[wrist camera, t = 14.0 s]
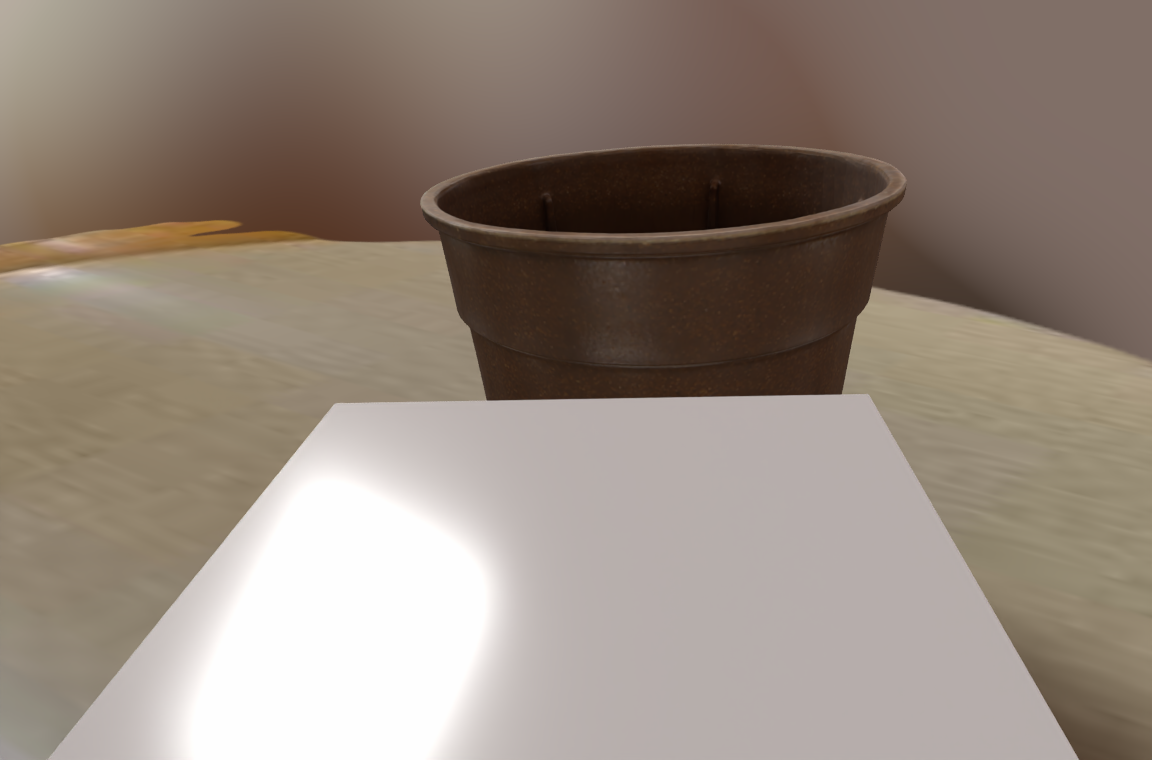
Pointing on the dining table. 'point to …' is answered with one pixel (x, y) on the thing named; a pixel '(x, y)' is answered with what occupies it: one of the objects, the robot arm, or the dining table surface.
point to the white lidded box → (582, 598)
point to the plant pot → (665, 268)
